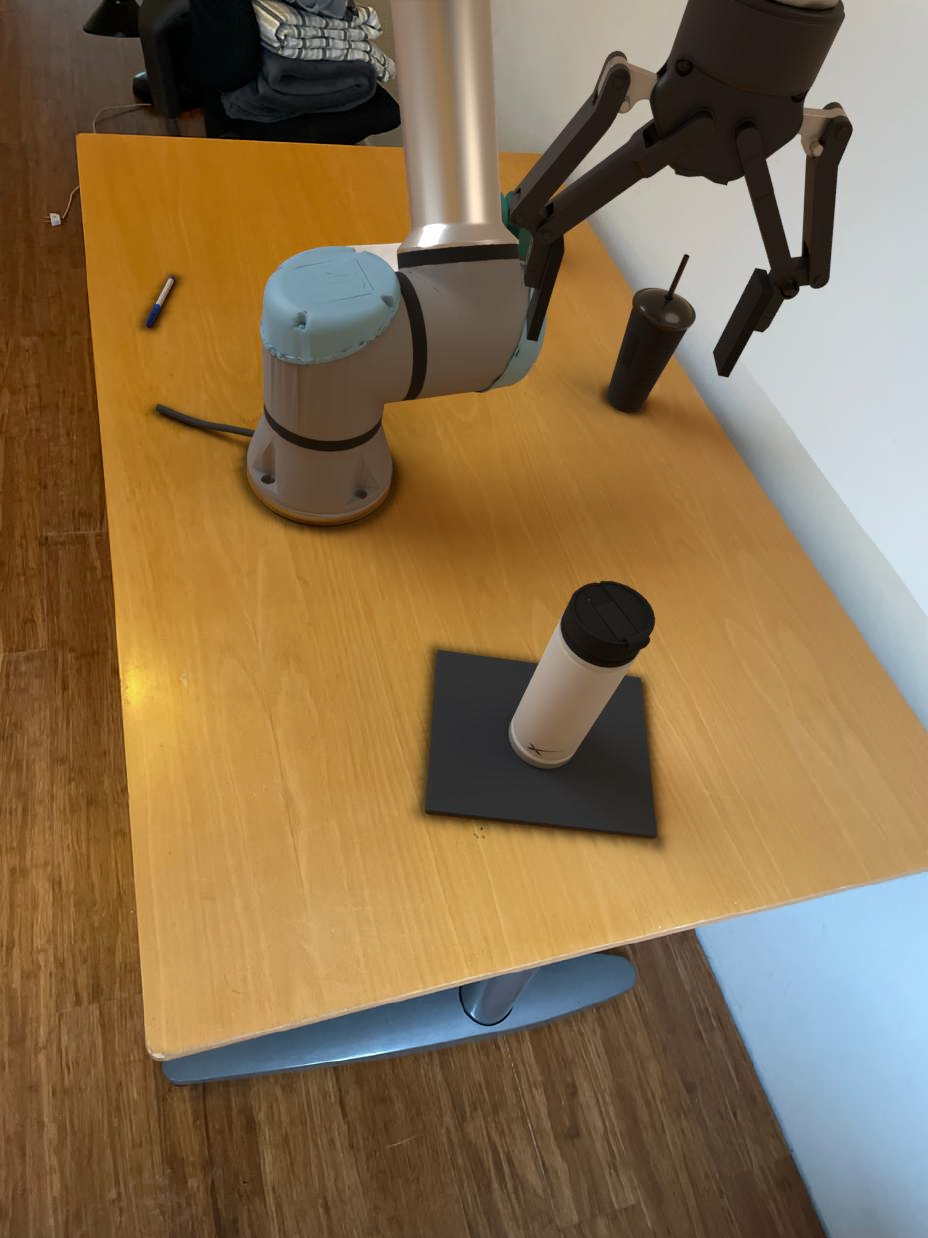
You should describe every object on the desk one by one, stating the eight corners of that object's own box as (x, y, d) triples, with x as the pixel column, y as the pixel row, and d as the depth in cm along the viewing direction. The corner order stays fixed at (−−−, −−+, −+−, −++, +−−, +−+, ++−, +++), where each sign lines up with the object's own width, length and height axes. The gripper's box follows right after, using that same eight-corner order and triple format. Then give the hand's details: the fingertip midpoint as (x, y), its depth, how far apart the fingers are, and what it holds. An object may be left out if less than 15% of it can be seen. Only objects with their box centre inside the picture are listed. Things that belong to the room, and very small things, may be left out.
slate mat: (425, 812, 67) (426, 810, 67) (436, 652, 77) (437, 649, 76) (655, 838, 70) (657, 836, 69) (638, 680, 79) (641, 677, 79)
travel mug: (531, 783, 70) (605, 658, 54) (495, 720, 73) (556, 583, 57) (590, 759, 73) (678, 632, 57) (553, 698, 76) (627, 562, 60)
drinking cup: (651, 426, 103) (719, 283, 87) (593, 410, 103) (651, 263, 87) (654, 390, 108) (720, 248, 92) (599, 374, 107) (655, 228, 91)
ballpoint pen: (153, 329, 97) (151, 321, 96) (145, 327, 96) (143, 320, 96) (175, 279, 103) (174, 272, 102) (168, 278, 103) (167, 271, 102)
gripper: (527, -63, 36) (446, 346, 53) (1038, 65, 39) (806, 413, 56) (526, -110, 40) (452, 281, 57) (984, 8, 43) (785, 346, 60)
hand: (627, 347), depth 56 cm, fingers open, 13 cm apart
